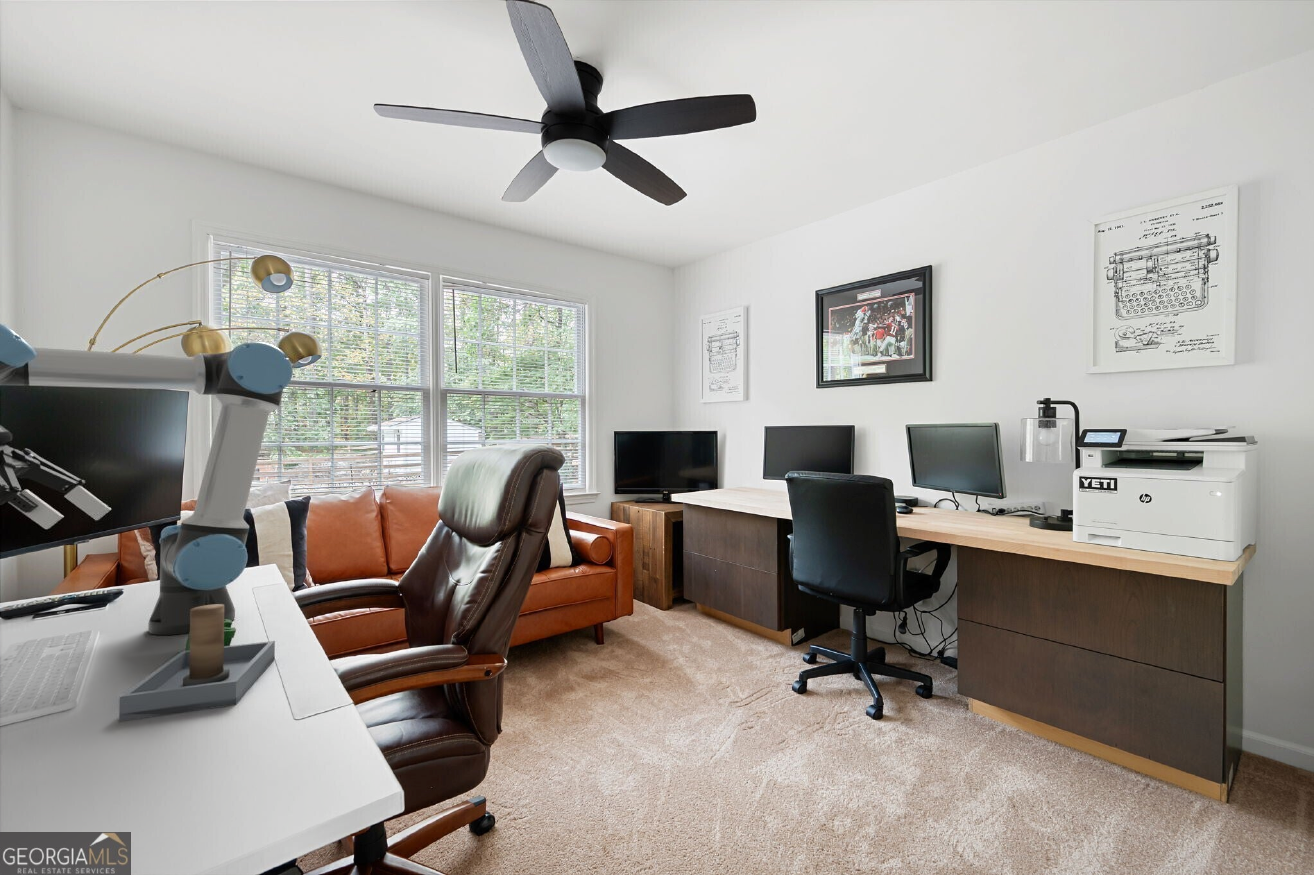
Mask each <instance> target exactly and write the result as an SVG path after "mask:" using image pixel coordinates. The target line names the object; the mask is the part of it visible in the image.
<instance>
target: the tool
mask: <svg viewBox="0 0 1314 875" xmlns="http://www.w3.org/2000/svg"><path fill="white" fill-rule="evenodd" d="M229 675H230V670H229V668H226V667H224V605H223V604H212V605H205V606H199V607H196V608H193V609H191V610H190V668H189V675H187V676H185V677H184V678H183V687H185V686H193V685H200V684H208V683H216V682H221V681H224V680H226V679H227V678H228V677H229Z"/></svg>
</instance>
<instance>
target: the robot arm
mask: <svg viewBox="0 0 1314 875" xmlns="http://www.w3.org/2000/svg"><path fill="white" fill-rule="evenodd" d="M293 372H294V370H293V365H292V362H291V360H290V358H289V357H288V356H287V354H285V352H284V351H283V350H282V349H280V348H278V347H277V346H275V345H273V344H270V343H267V342H264V341H263V342H262V341H255V342H254V341H253V342H252V341H251V342H244V343H241V344H239V345H237V346H236V347H234V348H233V349H231V350H230V351H226V352H218V353H217V352H215V353H204V352H198V353H196V354H195V355H193V356H182V355H181V356H180V355H164V354H162V355H161V354H146V353H145V354H144V353H132V352H131V353H130V352H129V353H127V352H111V351H109V352H108V351H96V350H78V349H76V350H75V349H61V348H60V349H59V348H44V347H32V346H31V345H30V344H29V343H28V342H27V341H25V339H23V338H22V336H20V335H19V334H18V333H16V332H15V331H14V330H13V329H11V328H10V327H8V325H7V326H6V325H5V324H2V323H0V386H33V387H34V386H35V387H36V386H38V387H39V386H40V387H41V386H42V387H72V388H111V389H112V388H113V389H144V390H145V389H146V390H147V389H149V390H181V391H182V390H184V391H194V392H196V393H197V394H198V395H205V396H206V395H207V396H208V395H209V396H210V395H212V396H215V397H216V398H217V400H218V401H219V402H220V404H221V408H220V411H219V412H220V413H219V415H218V419H217V424H216V426H215V430H214V435H213V439H212V441H211V446H210V449H209V454H208V458H207V460H206V465H205V469H204V473H203V476H202V480H201V484H200V487H199V491H198V496H197V499H196V503H195V506H194V510H193V513H192V514H191V515H190V516H188V517H187V518H184V519H183V520H181V524H179V525H178V524H175V525H169V526H166V527H164V528H163V529H162V530H161V532H160V538H159V542H158V543H159V544H160V556H159V557H160V559H159V560H160V561H159V562H160V563H159V566H160V568H159V596H158V598H157V600H156V602H155V605H154V608H153V610H152V612H151V615H150V618H149V620H148V625H147V626H148V628H147V629H148V631H147V632H148V633H149V634H150V635H158V636H167V635H168V636H171V635H181V634H187V633H188V634H189V633H190V610H191V609H193V608H196V607H199V606H205V605H212V604H223V605H224V619H228V620H231V621H232V620H233V621H234V620H235V619H236V608H235V606H234V604H233V601H232V598H231V596H230V594H229V590H228V588H227V586H228V585H229V584H231V583H233V582H234V581H235V580H236V579H238V578H239V577H240V576H241V575H242V574H243V572H244V570H245V569H246V565H247V563H248V556H249V555H248V552H247V551H248V550H247V547H246V543H247V539H248V535H249V531H250V525H249V524H248V523H247V522H246V520H245V519H244V516H245V511H246V508H247V503H248V499H249V495H250V491H251V488H252V485H253V483H252V482H253V479H254V477H255V471H256V467H257V463H258V460H259V455H260V451H261V448H262V443H263V439H264V435H265V431H266V427H267V423H268V418H269V415H270V414H271V413H272V412H274V411H276V410H278V409H279V408H280V403H281V401H282V397H283V392H284V389H286V387H288V386H289V384H290V382H291V381H292V378H293V374H294V373H293ZM10 374H15V375H10ZM12 440H13V433H11V432H10V431H9V430H8V429H7V428H5V427H4V426H2V425H1V424H0V506H2V505H3V504H5V503H6V502H7V503H8V504H10V505H11V506H12V507H14V508H15V509H16V510H18V511H19V512H21V513H22V514H23V515H25V516H26V517H28V518H29V519H31V521H33V522H35V523H36V524H38V525H39V526H40V527H42V528H43V529H45V530H49V529H51V528H52V527H53V526H54V525H55V524H57V523H58V522H59V521H61V520H62V519H63V518H64V517H65V516H64V515H63V514H62V513H60V512H59V511H58V510H56V509H55V508H53V507H52V506H51V505H50V504H48V503H47V502H45V501H44V500H42V499H41V498H40V497H39V496H38V495H36V494H34V493H33V491H30V490H29V489H24V490H22V488H21V485H20V484H19V481H18V479H17V478H19V479H23V480H24V479H29V480H32V481H34V482H36V483H39V484H41V485H43V486H45V487H48V488H49V489H53V490H55V491H58V493H59V492H60V493H62V494H64V496H63V497H64V498H66V499H67V500H68V501H69V502H71V504H74V505H75V506H76V507H77V508H79V509H80V510H81V511H83V512H84V513H86V515H88V516H90V517H91V518H92V519H94V520H95V521H99V520H100V519H102V518H103V517H104V516H105V515H107V513H109V512H110V511H111V510H112V508H111V507H109V505H108V504H106V503H104V502H103V501H101V500H100V499H99V498H97V497H96V496H95V495H94V494H93V493H91V492H90V491H88V490H87V489H86V488H84V487H83V485H84V484H85V483H86V480H84V479H82V478H79V477H78V476H75V475H74V474H72V473H70V472H69V471H66V470H65V469H63V468H61V467H59V466H57V465H55V464H53V463H51V462H50V461H48V460H46V459H44V458H43V457H41V456H40V455H38V454H37V453H35V452H33V450H31V449H29V448H24V449H22V450H19V449H16V448H14V447H11V444H10V443H11V441H12ZM234 618H235V619H234ZM233 621H232V622H233Z"/></svg>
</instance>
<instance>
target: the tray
mask: <svg viewBox="0 0 1314 875" xmlns="http://www.w3.org/2000/svg"><path fill="white" fill-rule="evenodd" d="M275 643H276V641H275V640H271V641H261V642H253V643H243V644H237V645H236V644H234V645H230V646H224V667H226V668H229V670H230V675H229V677H228V678H227V679H226V680H224V681H221V682H216V683H208V684H200V685H193V686H185V687H183V678H184V677H185V676H187V675H189V668H190V650H188V651H186V650H181V651H180V652H179V653H177V654H176V655H175V656H174V657H172V658H171V659H170V660H168V661H167V662H166V663H164V664H162V665H161V666H160V667H158V668H157V669H155V670H154V671H153V672H152V673H150V674H149V675H148V676H146V677H145V678H144V679H142V680H141V681H139V682H138V683H137V684H135V685H133V687H131V688H130V689H128V690H127V691H126V692H124V693H123V694H121V695H120V696H119V713H118V716H119V717H118V721H119V722H124V721H125V722H126V721H131V720H137V719H139V720H140V719H145V718H151V717H159V716H165V715H166V716H167V715H173V714H181V713H187V712H188V713H189V712H193V711H200V710H209V709H213V708H222V707H229V706H236V705H237V704H238V703H239V702H240V701H241V700H242V698H243V697H244V696H245V695H246V694H247V692H249V690H250V689H251V688H252V686H253V685H254V684H255V683H256V682H257V681H258V679H259V678H261V676H262V675H263V673H265V672H266V671H267V669H268V668H269V667H270V665H271V664H272V663H273V662H274V661H275V660H274V659H275V656H276V655H275V653H276V652H275V650H276V648H275V645H276V644H275ZM268 666H269V667H268Z"/></svg>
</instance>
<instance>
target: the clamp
mask: <svg viewBox="0 0 1314 875" xmlns="http://www.w3.org/2000/svg"><path fill="white" fill-rule="evenodd" d="M232 625H233V621H231V620H228V619H224V646H231V643H232V639H234V638H235V635H236V632H237V629H236V627H232ZM186 639H187V640H186V641H185V642H186V643H185V651H188V650H190V633H188V636H187V638H186Z"/></svg>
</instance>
